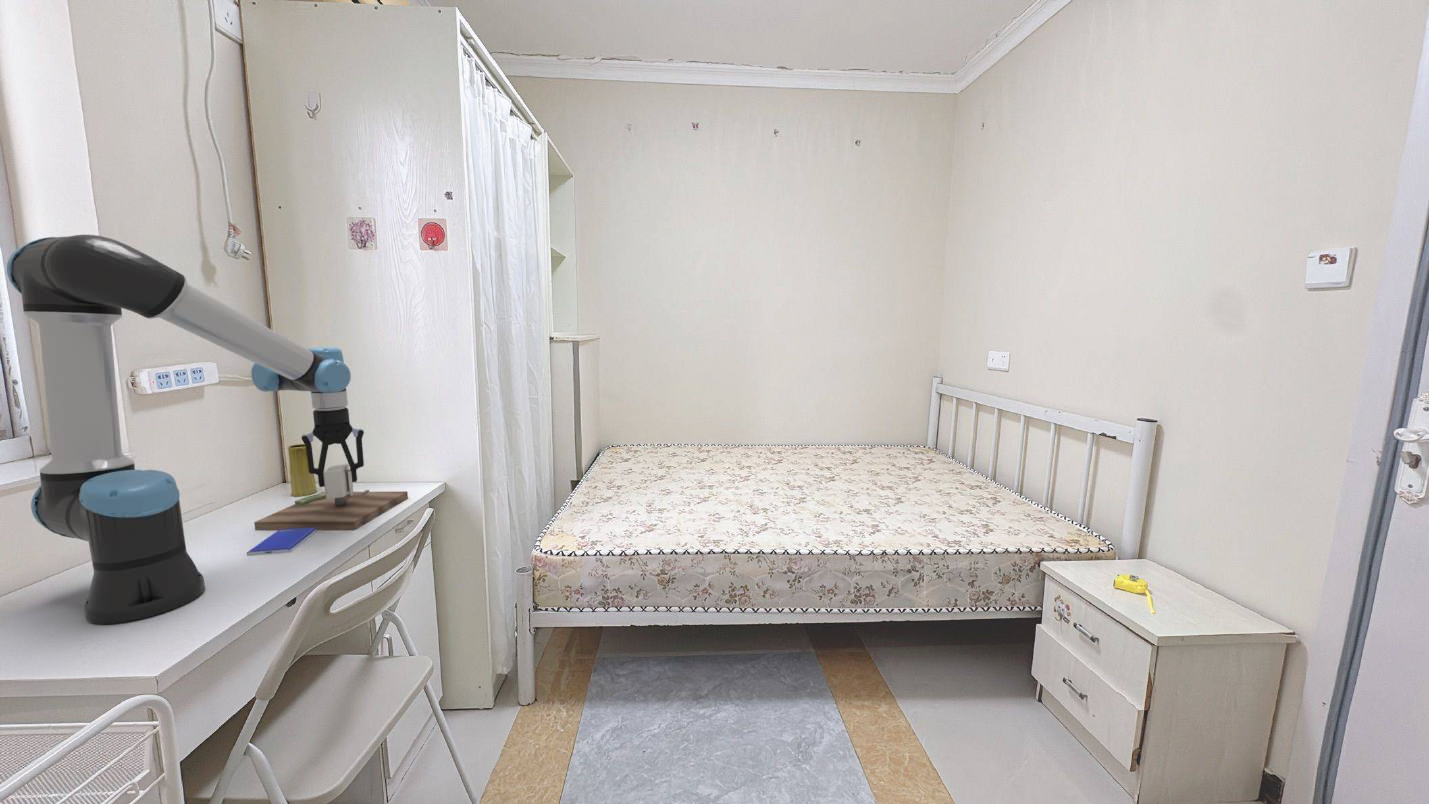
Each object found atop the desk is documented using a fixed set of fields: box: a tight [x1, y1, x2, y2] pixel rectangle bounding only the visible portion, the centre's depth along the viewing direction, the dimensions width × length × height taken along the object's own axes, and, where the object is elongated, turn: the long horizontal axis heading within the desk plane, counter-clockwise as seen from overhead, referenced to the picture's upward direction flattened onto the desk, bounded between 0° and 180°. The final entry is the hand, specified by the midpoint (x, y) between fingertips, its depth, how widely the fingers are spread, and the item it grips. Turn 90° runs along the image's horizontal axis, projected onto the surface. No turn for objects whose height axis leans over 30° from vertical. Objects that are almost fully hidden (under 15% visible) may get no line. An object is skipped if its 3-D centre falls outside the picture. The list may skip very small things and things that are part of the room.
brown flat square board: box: [253, 489, 409, 531], centre depth 147 cm, size 24×24×3 cm
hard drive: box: [246, 528, 317, 557], centre depth 128 cm, size 2×8×12 cm
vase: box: [287, 443, 318, 497], centre depth 163 cm, size 6×6×14 cm
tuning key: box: [324, 462, 350, 506], centre depth 150 cm, size 16×4×10 cm, turn 21°
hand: (339, 496), depth 147 cm, fingers closed on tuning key, 4 cm apart
